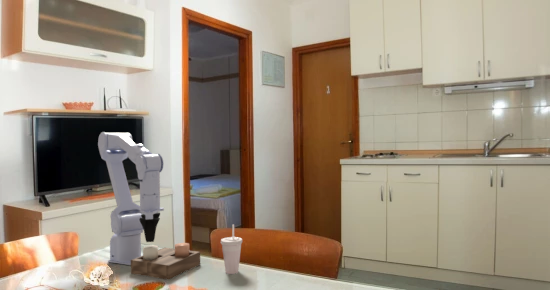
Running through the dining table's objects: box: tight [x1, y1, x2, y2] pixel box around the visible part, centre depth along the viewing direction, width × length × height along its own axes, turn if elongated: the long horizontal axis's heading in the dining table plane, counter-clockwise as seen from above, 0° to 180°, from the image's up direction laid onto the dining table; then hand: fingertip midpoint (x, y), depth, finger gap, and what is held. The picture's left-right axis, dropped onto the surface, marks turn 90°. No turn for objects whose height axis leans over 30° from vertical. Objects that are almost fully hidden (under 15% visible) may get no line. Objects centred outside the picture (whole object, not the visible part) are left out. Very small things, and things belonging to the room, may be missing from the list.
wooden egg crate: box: [130, 247, 201, 281], centre depth 118 cm, size 14×15×4 cm
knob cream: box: [142, 244, 159, 261], centre depth 117 cm, size 4×4×3 cm
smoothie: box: [220, 224, 243, 275], centre depth 115 cm, size 6×6×14 cm
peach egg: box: [174, 242, 190, 258], centre depth 120 cm, size 4×4×3 cm
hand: (150, 239), depth 117 cm, fingers open, 6 cm apart
